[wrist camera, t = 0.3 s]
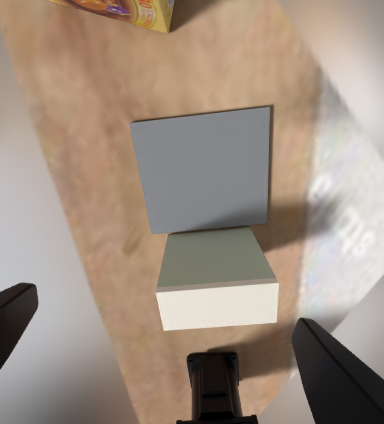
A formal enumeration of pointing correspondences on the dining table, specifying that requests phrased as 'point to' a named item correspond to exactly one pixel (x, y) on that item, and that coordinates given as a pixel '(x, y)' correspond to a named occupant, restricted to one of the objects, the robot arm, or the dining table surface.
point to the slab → (215, 281)
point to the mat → (204, 169)
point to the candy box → (129, 11)
